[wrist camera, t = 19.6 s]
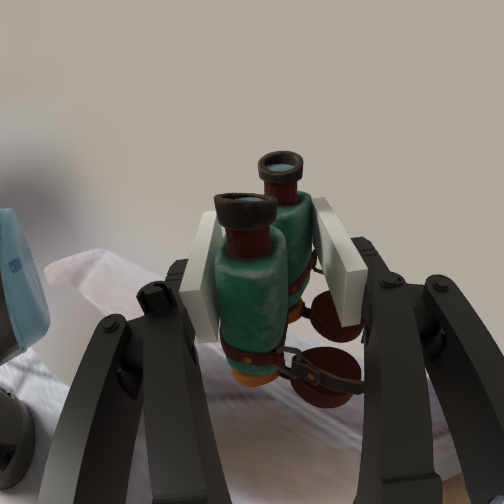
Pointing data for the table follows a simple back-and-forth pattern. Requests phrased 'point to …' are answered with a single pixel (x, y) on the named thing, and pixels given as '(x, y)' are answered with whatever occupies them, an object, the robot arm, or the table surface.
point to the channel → (454, 491)
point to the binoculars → (278, 289)
